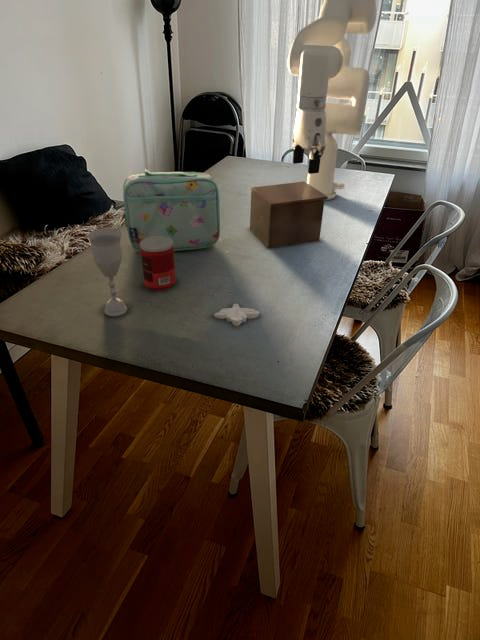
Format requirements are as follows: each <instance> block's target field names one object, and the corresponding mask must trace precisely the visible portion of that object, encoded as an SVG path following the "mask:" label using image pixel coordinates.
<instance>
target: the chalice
mask: <svg viewBox="0 0 480 640" xmlns="http://www.w3.org/2000/svg"><path fill="white" fill-rule="evenodd" d="M122 235H123V234H122V232H121V231H120V230H119V229H116V228H99V229H95V230H93V231H91V232H89V233H88V235H87V240H88V241H89V242H90V246H91V253H92V259H93V261H94V263H95V265H96V266H97V268H98V270H99V271H100V272H101V273H102V275H103V276H104V277H106V278H108V283H107V285H108V286H109V290H108V293H109V294H110V295H111V298H109V299H107V301H106V303H105V307H104V310H103V311H104V312H103V313H104V314H105V315H107V316H110V317H118V316H121V315H124V314H126V312H127V311H128V307H127V305H126V304H125V303H124V301H123V299H121V298H119V297H117V292H118V290H117V289H116V288H115V286H116V282H115V279H114V277H116V276H117V274H118V272H119V270H120V266H121V264H122V258H123V253H122V245H121V238H122Z"/></svg>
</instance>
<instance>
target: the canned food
mask: <svg viewBox="0 0 480 640" xmlns="http://www.w3.org/2000/svg"><path fill="white" fill-rule="evenodd" d="M139 253H140V261H141V270H142V278H143V279H142V280H143V284H144V286H145V287H146V288H147V289H149V290H151V291H165V290H168V289H171V288H172V287H173V286H174V285H175V283H176V280H177V279H176V265H175V264H176V261H175V251H174V245H173V240H172V239H171V238H169V237H165V236H152V237H148V238H145V239H143V240H142V241H141V242H140V252H139Z"/></svg>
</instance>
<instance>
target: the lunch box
mask: <svg viewBox="0 0 480 640" xmlns="http://www.w3.org/2000/svg"><path fill="white" fill-rule="evenodd" d="M122 185H123V186H122V187H123V188H122V191H123V192H122V197H123V209H122V211H123V212H124V213H122V216H121V220H120V222H123V220H124V223H125V228H126V231H127V235H128V240H129V243H130V244H131V247H132V248H133V249H134V250H135V251H137V252H139V253H141V252H140V242H141V241H142V240H143V239H145V238H148V237H152V236H165V237H169V238H171V239H172V240H173V245H174V252H180V251H181V252H182V251H192V250H193V251H194V250H201V249H202V250H203V249H206V248H210V247H212V246H214V245H215V244H217V243H218V242H219V239H220V234H221V211H220V193H219V191H220V190H219V186H218V184H217V183H216V181H215V180H214V178H213V177H212V176H211V175H210V174H208V173H205V172H200V171H199V172H197V171H155V172H153V171H152V172H150V171H149V170H148V169H144V171H143V172H140V173H136V174H133V175H130V176H128V177H126V178H125V180H124V182H123V184H122Z"/></svg>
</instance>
